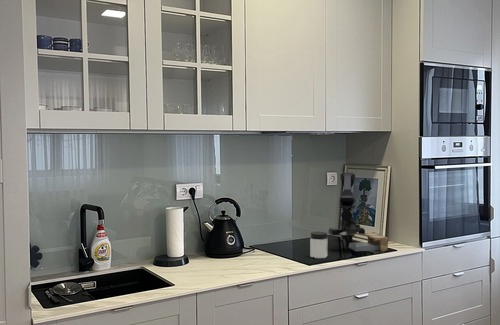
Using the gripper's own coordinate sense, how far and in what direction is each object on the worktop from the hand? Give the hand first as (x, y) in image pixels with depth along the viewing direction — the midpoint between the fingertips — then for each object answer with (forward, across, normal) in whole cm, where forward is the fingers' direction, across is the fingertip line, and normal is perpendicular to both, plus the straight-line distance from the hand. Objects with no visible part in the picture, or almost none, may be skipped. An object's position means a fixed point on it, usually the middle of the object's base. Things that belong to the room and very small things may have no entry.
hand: (346, 247), depth 268 cm
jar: (+2, -20, -12) cm, 23 cm away
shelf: (+1, +16, 0) cm, 16 cm away
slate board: (+2, +10, -1) cm, 10 cm away
